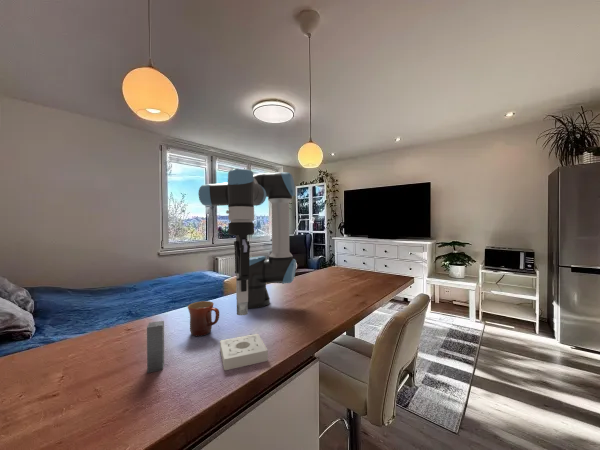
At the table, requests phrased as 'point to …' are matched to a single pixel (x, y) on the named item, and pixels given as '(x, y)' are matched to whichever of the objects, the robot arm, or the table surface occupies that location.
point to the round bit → (241, 307)
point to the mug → (202, 317)
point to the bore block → (243, 351)
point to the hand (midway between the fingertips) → (242, 300)
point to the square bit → (155, 346)
